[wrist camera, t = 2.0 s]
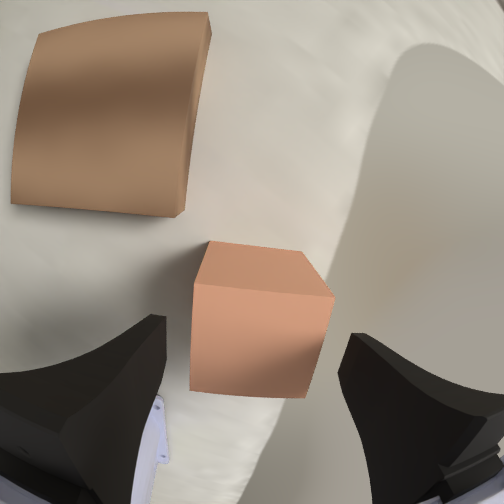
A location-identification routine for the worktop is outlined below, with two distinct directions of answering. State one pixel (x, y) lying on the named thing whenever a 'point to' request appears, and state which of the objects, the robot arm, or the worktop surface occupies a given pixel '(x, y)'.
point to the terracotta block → (257, 322)
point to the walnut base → (111, 114)
